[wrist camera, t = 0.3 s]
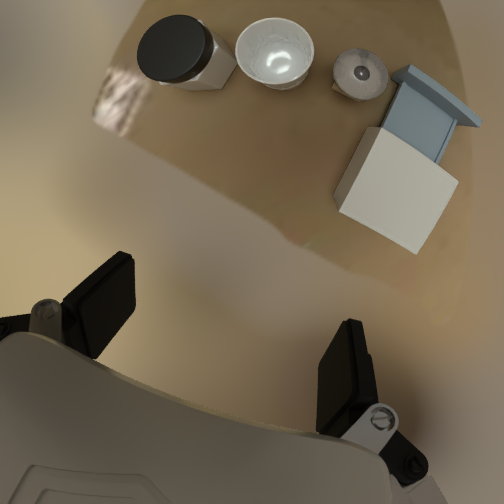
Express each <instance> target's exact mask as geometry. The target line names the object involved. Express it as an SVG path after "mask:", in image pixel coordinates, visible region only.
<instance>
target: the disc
mask: <svg viewBox="0 0 504 504" xmlns="http://www.w3.org/2000/svg"><path fill="white" fill-rule="evenodd" d="M332 74H333V80H334V82H335V84H336V86H337V88H338V89H339V90H340V91H341V92H342V93H343V94H344V95H346V96H347V97H349V98H351V99H354V100H360V101H365V100H370V99H373V98H375V97H377V96H379V95H381V94H382V93H383V92H384V90H385V89H386V87H387V84H388V72H387V69H386V67H385V65H384V63H383V62H382V60H381V59H380V58H379V57H378V56H376V55H375V54H374V53H372V52H370V51H368V50H365V49H358V48H356V49H349V50H347V51H344V52H343V53H342V54H340V55H339V57H338V58H337V60H336V62H335V64H334V66H333V72H332Z"/></svg>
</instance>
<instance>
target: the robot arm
mask: <svg viewBox="0 0 504 504" xmlns="http://www.w3.org/2000/svg"><path fill="white" fill-rule="evenodd" d="M135 307H136V297H135V262H134V259H133V258H132V256H131V255H130V254H128V253H125V252H122V251H118V252H117V253H116V254H115V255H113V256H112V257H111V258H110V259H108V260H107V261H106V262H105V263H104V264H102V265H101V266H100V267H99V268H98V269H97V270H95V271H94V272H93V273H92V274H91V275H89V276H88V277H87V278H86V279H85V280H84V281H83V282H81V283H80V284H79V285H78V286H77V287H76V288H75V289H73V290H72V291H71V292H70V293H69V294H68V295H67V296H66V297H65V298H64V299H63V302H62V303H59V302H58V301H56V300H53V299H44V300H41V301H39V302H37V303H36V304H35V305H34V306H33V308H32V310H31V313H30V314H23V315H17V316H9V317H2V318H0V504H448V503H447V501H446V500H445V498H444V496H443V494H442V493H441V491H440V489H439V487H438V486H437V484H436V482H435V481H434V479H433V477H432V476H429V477H428V475H427V472H428V461H427V459H426V457H425V456H424V455H423V454H422V453H421V452H420V451H419V450H418V449H417V448H416V447H415V446H414V445H413V444H411V443H410V442H409V441H408V440H407V439H406V438H405V437H404V436H403V435H402V434H401V433H400V432H398V431H397V430H396V429H397V427H398V422H399V420H398V416H397V415H396V412H395V411H394V410H393V409H392V408H391V407H389V406H388V405H385V404H380V403H379V402H378V395H377V388H376V381H375V375H374V369H373V363H372V358H371V355H370V354H368V351H367V346H366V340H365V335H364V330H363V325H362V322H361V321H358V320H354V319H348V320H347V321H343V322H342V323H341V325H340V327H339V329H338V331H337V333H336V334H335V336H334V338H333V340H332V342H331V343H330V345H329V347H328V349H327V350H326V352H325V354H324V355H323V357H322V359H321V361H320V363H319V367H318V395H317V418H316V431H317V432H319V434H316V433H311V432H305V431H300V430H294V429H289V428H284V427H280V426H275V425H270V424H266V423H262V422H257V421H253V420H249V419H246V418H242V417H237V416H234V415H231V414H227V413H224V412H221V411H217V410H214V409H211V408H208V407H204V406H201V405H198V404H195V403H192V402H190V401H187V400H184V399H181V398H178V397H176V396H173V395H170V394H167V393H165V392H163V391H160V390H158V389H155V388H153V387H150V386H148V385H146V384H143V383H141V382H138V381H136V380H134V379H132V378H130V377H127V376H125V375H123V374H121V373H119V372H117V371H114V370H113V369H110V368H109V367H107V366H105V365H103V364H101V363H99V362H97V361H95V360H93V359H97V358H98V357H99V355H100V354H101V353H102V351H103V350H104V349H105V347H106V346H107V345H108V343H109V342H110V341H111V340H112V338H113V337H114V336H115V335H116V333H117V332H118V331H119V330H120V328H121V327H122V326H123V325H124V323H125V322H126V321H127V319H128V318H129V317H130V316H131V315H132V313H133V312H134V310H135Z"/></svg>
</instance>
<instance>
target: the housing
mask: <svg viewBox="0 0 504 504" xmlns="http://www.w3.org/2000/svg"><path fill="white" fill-rule="evenodd" d="M457 184H458V181H457V180H456V179H455V178H453V177H452V176H451V175H450V174H448V173H447V172H446V171H445V170H443V169H442V168H441V167H439V166H438V165H437V164H435V163H434V162H433V161H431V160H430V159H429V158H427V157H426V156H424V155H423V154H422V153H420V152H419V151H417V150H416V149H414V148H413V147H412V146H410V145H409V144H407V143H406V142H404V141H402V140H401V139H399V138H398V137H396V136H395V135H393V134H391V133H390V132H388V131H387V130H385V129H383V128H381V127H367V128H366V130H365V132H364V134H363V136H362V139H361V141H360V143H359V145H358V147H357V149H356V151H355V153H354V155H353V157H352V159H351V161H350V163H349V165H348V167H347V169H346V171H345V173H344V175H343V177H342V179H341V180H340V182H339V184H338V186H337V188H336V190H335V192H334V194H333V197H334V200H335V202H336V205H337V208H338V211H339V212H341V213H343V214H345V215H347V216H348V217H350V218H352V219H354V220H356V221H358V222H360V223H362V224H363V225H365V226H367V227H369V228H371V229H373V230H374V231H376V232H378V233H380V234H382V235H383V236H385V237H387V238H389V239H390V240H392V241H394V242H396V243H397V244H399V245H401V246H403V247H404V248H406V249H408V250H409V251H411V252H413V253H414V254H417V253H418V251H419V250H420V248H421V247H422V245H423V244H424V242H425V241H426V239H427V237H428V236H429V234H430V233H431V231H432V229H433V228H434V226H435V224H436V223H437V221H438V219H439V217H440V216H441V214H442V212H443V210H444V209H445V207H446V205H447V203H448V201H449V200H450V198H451V196H452V194H453V192H454V190H455V188H456V186H457Z"/></svg>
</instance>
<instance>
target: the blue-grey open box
mask: <svg viewBox="0 0 504 504" xmlns="http://www.w3.org/2000/svg"><path fill="white" fill-rule="evenodd" d="M391 79H392V80H393V81H395V82H397V83H398V84H399V87H398V89H397V91H396V93H395V96H394V98H393V100H392V102H391V105H390V107H389V109H388V111H387V113H386V115H385V118H384V120H383V122H382V124H381V126H380V127H381V128H383V129H385V130H387V131H388V132H390V133H391V134H393V135H395V136H396V137H398V138H399V139H401V140H402V141H404V142H406V143H407V144H409V145H410V146H412V147H413V148H414V149H416V150H417V151H419V152H420V153H422V154H423V155H424V156H426V157H427V158H429V159H430V160H431V161H433V162H434V163H435V164H437V165H438V163H439V161H440V159H441V157H442V155H443V153H444V151H445V149H446V147H447V144H448V142H449V140H450V138H451V135H452V133H453V131H454V129H455V126H456V125H462V126H471V127H480V125H481V122H482V120H481V119H480V118H479V117H478V116H477V115H476V114H475V113H474V112H473V111H472V110H471V109H470V108H468V107H467V106H466V105H465V104H464V103H463V102H461V101H460V100H459V99H458V98H457V97H456V96H454V95H453V94H452V93H451V92H449V91H448V90H447V89H445V88H444V87H443V86H442V85H440V84H439V83H438V82H436V81H435V80H434V79H432V78H431V77H429V76H428V75H427V74H425V73H424V72H422V71H421V70H419V69H418V68H416V67H415V66H413V65H412V64H410V65H408V66H406V67H404V68H402V69H400V70H398V71H396V72H394V74H393V76H392V78H391Z"/></svg>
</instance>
